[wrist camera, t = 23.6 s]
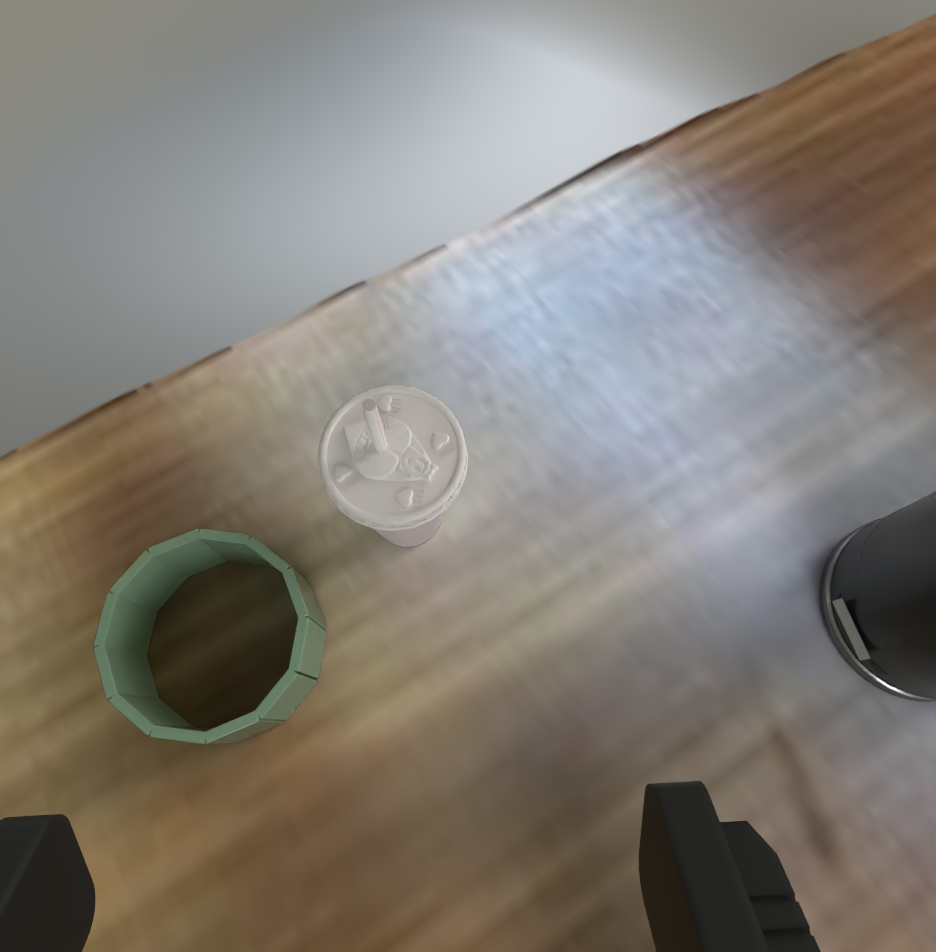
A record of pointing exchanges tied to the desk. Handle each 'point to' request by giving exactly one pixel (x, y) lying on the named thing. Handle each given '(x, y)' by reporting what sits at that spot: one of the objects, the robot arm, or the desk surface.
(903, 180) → the desk surface
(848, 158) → the desk surface
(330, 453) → the smoothie
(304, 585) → the holder
